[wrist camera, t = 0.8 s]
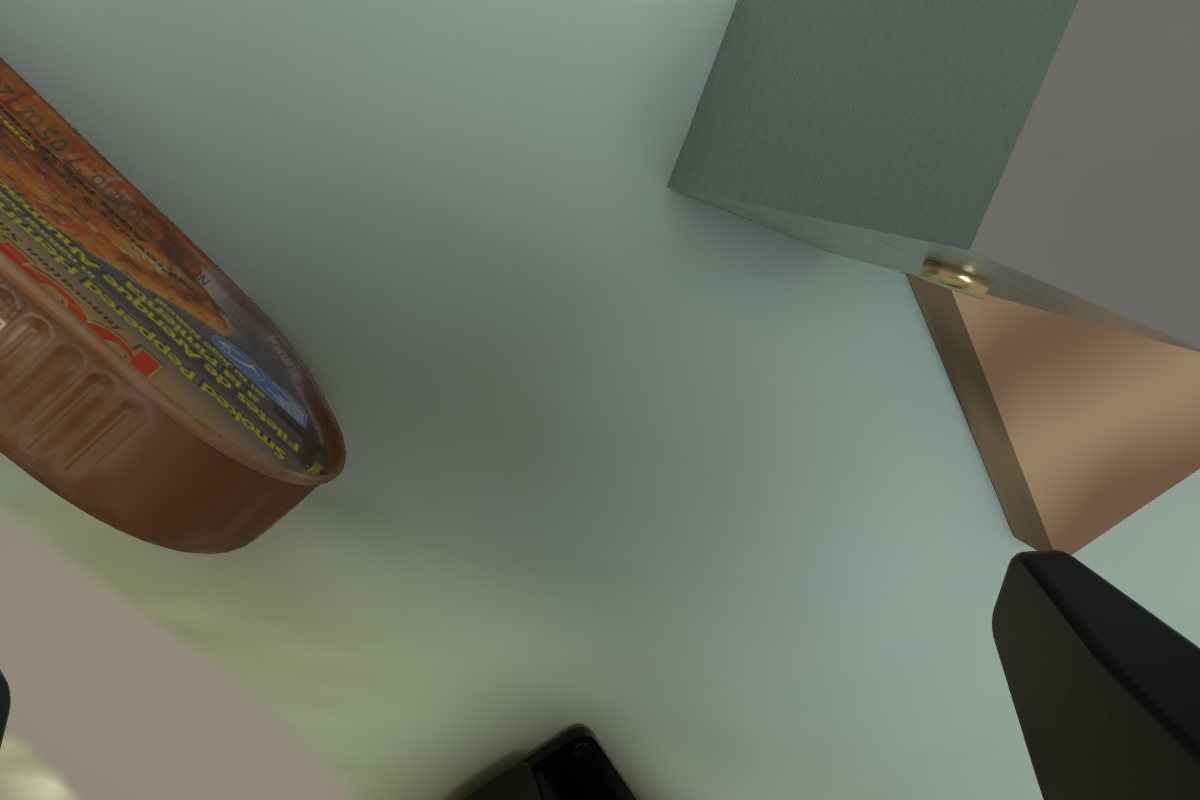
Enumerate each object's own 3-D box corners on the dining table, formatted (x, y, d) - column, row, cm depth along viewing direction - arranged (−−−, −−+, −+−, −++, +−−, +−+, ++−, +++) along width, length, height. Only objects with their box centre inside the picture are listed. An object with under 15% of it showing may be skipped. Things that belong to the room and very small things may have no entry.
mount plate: (1287, 354, 32) (1347, 368, 30) (1014, 536, 31) (1058, 563, 29) (1199, 1, 28) (1262, -7, 26) (877, 201, 27) (919, 207, 25)
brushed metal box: (903, 71, 26) (1378, 36, 14) (824, 262, 27) (1212, 375, 15) (741, -9, 24) (1131, -123, 13) (662, 198, 25) (960, 270, 13)
